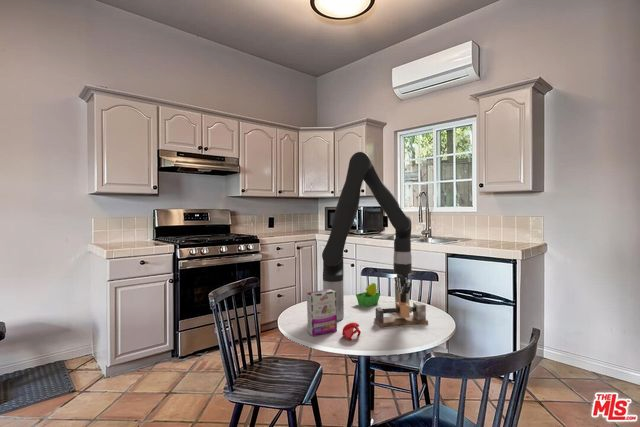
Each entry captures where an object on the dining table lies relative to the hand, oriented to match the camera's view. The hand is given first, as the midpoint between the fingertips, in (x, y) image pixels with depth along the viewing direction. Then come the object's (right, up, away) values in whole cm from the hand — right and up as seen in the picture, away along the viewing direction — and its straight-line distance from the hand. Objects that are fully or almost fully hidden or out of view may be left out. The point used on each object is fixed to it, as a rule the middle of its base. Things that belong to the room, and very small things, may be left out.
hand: (402, 301), depth 152 cm
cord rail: (-1, -9, 0) cm, 9 cm away
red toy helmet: (-23, -10, -16) cm, 30 cm away
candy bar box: (-35, -10, -10) cm, 37 cm away
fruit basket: (-11, -9, +28) cm, 31 cm away
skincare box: (+5, -8, +21) cm, 23 cm away
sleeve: (0, -6, 0) cm, 6 cm away
